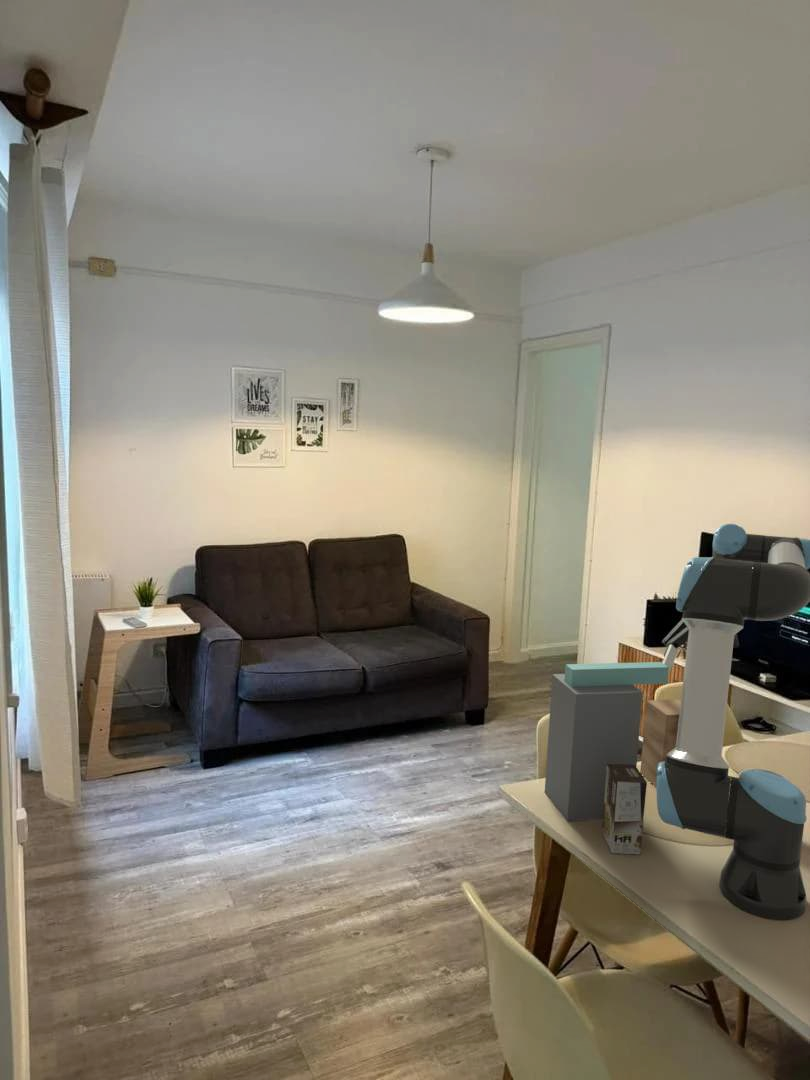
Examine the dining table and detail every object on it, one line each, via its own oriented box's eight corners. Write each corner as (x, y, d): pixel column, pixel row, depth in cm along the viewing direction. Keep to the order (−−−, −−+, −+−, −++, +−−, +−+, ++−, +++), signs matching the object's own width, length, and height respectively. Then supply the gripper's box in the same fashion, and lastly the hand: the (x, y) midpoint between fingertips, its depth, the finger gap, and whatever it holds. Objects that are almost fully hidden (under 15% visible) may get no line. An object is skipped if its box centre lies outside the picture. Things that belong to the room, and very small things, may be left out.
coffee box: (641, 855, 160) (648, 782, 158) (611, 853, 160) (616, 781, 158) (630, 832, 169) (635, 763, 167) (600, 831, 169) (606, 762, 167)
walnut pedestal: (675, 772, 201) (681, 699, 198) (696, 789, 191) (703, 713, 188) (640, 774, 199) (646, 700, 196) (659, 792, 189) (666, 714, 186)
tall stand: (605, 788, 190) (614, 672, 186) (632, 816, 176) (642, 692, 172) (544, 792, 187) (552, 674, 182) (567, 821, 173) (576, 694, 169)
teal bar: (658, 678, 182) (660, 661, 182) (667, 683, 179) (668, 667, 178) (564, 680, 178) (565, 664, 177) (571, 686, 174) (572, 669, 173)
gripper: (769, 606, 184) (743, 680, 175) (682, 611, 205) (655, 677, 196) (753, 587, 182) (726, 661, 172) (666, 594, 202) (638, 660, 193)
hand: (688, 669), depth 184 cm, fingers open, 13 cm apart
